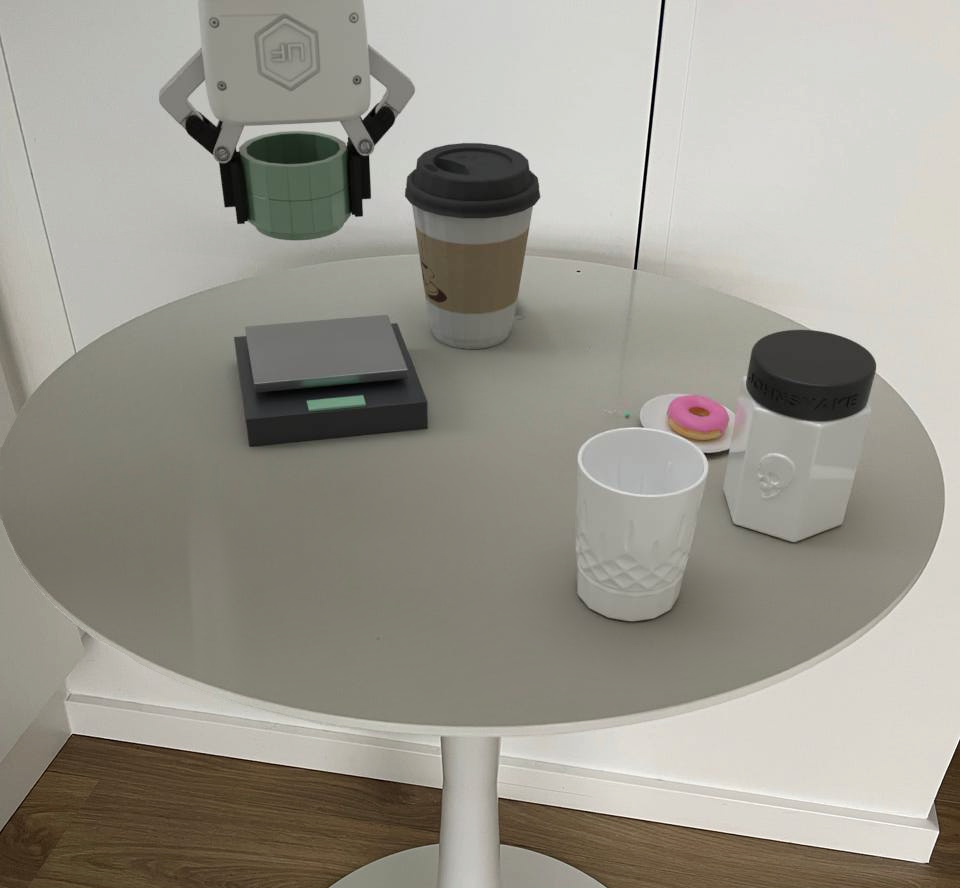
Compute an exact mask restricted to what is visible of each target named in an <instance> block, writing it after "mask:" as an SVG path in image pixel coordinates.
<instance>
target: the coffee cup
mask: <svg viewBox="0 0 960 888" xmlns="http://www.w3.org/2000/svg"><path fill="white" fill-rule="evenodd" d="M405 184H406V185H405V189H404V197H405V199H406V200H407V201H408V202H409V203H410V204H411V208H412V214H413V219H414V220H413V222H414V228H415V234H416V241H417V248H418V255H419V262H420V268H421V275H422V282H423V289H424V296H425V302H426V310H427V317H428V324H429V326H430V327H431V331H432V335H433V336H434V338H435V339H436V340H437V341H438V342H440V343H442V345H446V346H449V347H452V348H456V349H462V348H463V350H480V349H488V348H492V347H495V346H498V345H500V344H502V343H503V342H505V341H506V340H507V339H508V338H509V336H510V334H511V329H512V327H513V326H514V323H515V317H516V309H517V304H518V299H519V292H520V286H521V280H522V274H523V270H524V269H523V268H524V263H525V256H526V251H527V246H528V245H527V244H528V237H529V232H530V227H531V220H532V215H533V208H534V206H535V205H536V204H537V203H538V201H539V200H540V199H541V192H540V183H539V177H538V176H537V175H536V174H534V172H532V171H531V170H530V162H529V159H528V158H527V157H526V156H524V154H522V152H519V151H517V150H514V149H513V148H510V147H507V146H506V147H505V146H503V145H498V144H491V143H483V142H462V143H461V142H460V143H451V144H450V143H449V144H444V145H440V146H436V147H433V148H431V149H428V150H427V151H424V152H423V153H422V154H421V155H420V156H419V157H418V158H417V159H416V166H415V169H413V170H412V171H411V172H410V173H409V174H408V175H407V177H406V183H405Z"/></svg>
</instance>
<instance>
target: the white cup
mask: <svg viewBox="0 0 960 888" xmlns="http://www.w3.org/2000/svg"><path fill="white" fill-rule="evenodd" d="M576 460H577V463H576V464H577V465H576V466H577V467H576V500H575V534H574V535H575V556H576V591H577V595H578V597H579V598H580V599H581V600H582V602H583V603H584V604H585V605H586V606H587V608H588V609H590V610H591V611H594V612H595V613H598V614H600V615H602V616H604V617H606V618H608V619H613V620H620V621H625V622H637V621H645V620H646V621H647V620H654V619H656V618H658V617H659V616H661V615H663V614H665V613H667V612H669V611H670V610H672V608H673V606H674V605H675V603H676V602H677V600H678V598H679V597H680V592H681V589H682V582H683V578H684V572H685V571H686V567H687V564H688V562H689V561H688V560H689V557H690V553H691V548H692V544H693V541H694V537H695V533H696V528H697V524H698V519H699V514H700V510H701V505H702V500H703V495H704V492H705V487H706V481H707V478H708V473H709V462H708V459H707V456H706V455H705V453H703V452H702V451H701V450H700V449H699V448H698V447H697V446H696V445H694V444H693V443H692V442H690V441H688V440H687V439H685V438H683V437H680V436H678V435H676V434H673V433H670V432H666V431H662V430H657V429H651V428H644V427H637V426H636V427H635V426H632V427H630V426H629V427H620V428H612V429H608V430H606V431H602V432H600V433H597V434H595V435H593V436H591V437H590V438H589V439H587V440H586V441H585V442H584V443H583V444H582V445H581V446H580V448H579V450H578V452H577V459H576Z"/></svg>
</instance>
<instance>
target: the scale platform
mask: <svg viewBox="0 0 960 888" xmlns="http://www.w3.org/2000/svg"><path fill="white" fill-rule="evenodd" d="M391 324H392V323H391V320H390V317H389V315H388V314H379V315H378V314H377V315H366V316H355V317H342V318H332V319H331V318H329V319H321V320H319V319H318V320H308V321H297V322H284V323H282V322H281V323H272V324H270V323H269V324H261V325H248V326H245V327H244V330H245V336H246V339H247V345H248V351H249V357H250V363H251V370H252V376H253V382H254V388H255V393H257V392H268V391H279V390H289V389H300V388H310V387H321V386H332V385H342V384H353V383H364V382H374V381H385V380H395V379H406V378H408V368H407V366H406V363H405V360H404V358H403V355H402V352H401V349H400V347H399V344H398V341H397V339H396V336H395V333H394V331H393V328H392V325H391Z"/></svg>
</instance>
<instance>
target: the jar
mask: <svg viewBox="0 0 960 888" xmlns="http://www.w3.org/2000/svg"><path fill="white" fill-rule="evenodd" d="M876 372H877V362H876V360H875V357H874V356H873V355H872V353H871V352H870V350H868V349H867V348H865V347H864V346H862V345H861V344H860V343H858V342H856V341H854V340H852V339H849V338H847V337H845V336H841V335H838V334H835V333H833V332H832V333H831V332H827V331H820V330H811V329H788V330H787V329H786V330H781V331H777V332H773V333H770V334H767V335H765V336H762V337H761V338H760V339H759V340H757V341H756V342H755V343H754V344H753V346H752V349H751V351H750V358H749V364H748V368H747V374H745V375H743V376H742V377H741V383H740V389H739V394H738V400H737V405H736V410H735V411H736V412H735V415H736V416H735V422H734V428H733V433H732V439H731V445H730V449H728V450H729V451H728V456H727V463H726V468H725V474H724V479H723V485H722V491H723V493H724V497H725V500H726V504H727V507H728V511H729V515H730V517H731V521H732V523H733V525H736V526H739V527H742V528H745V529H749V530H752V531H756V532H759V533H761V534H765V535H768V536H772V537H774V538H778V539H781V540H784V541H787V542H790V543H797V542H800V541H803V540H805V539H807V538H810V537H812V536H815V535H818V534H821V533H823V532H825V531H828V530H831V529H834V528H837V527H839V526H841V525H843V523H844V519H845V515H846V511H847V507H848V504H849V500H850V496H851V492H852V488H853V484H854V480H855V477H856V473H857V469H858V465H859V462H860V458H861V453H862V450H863V446H864V443H865V439H866V435H867V431H868V427H869V424H870V419H871V417H872V412H873V410H872V407H871V405H870V402H869V399H870V395H871V391H872V388H873V383H874V380H875V377H876V376H875V375H876Z"/></svg>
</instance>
